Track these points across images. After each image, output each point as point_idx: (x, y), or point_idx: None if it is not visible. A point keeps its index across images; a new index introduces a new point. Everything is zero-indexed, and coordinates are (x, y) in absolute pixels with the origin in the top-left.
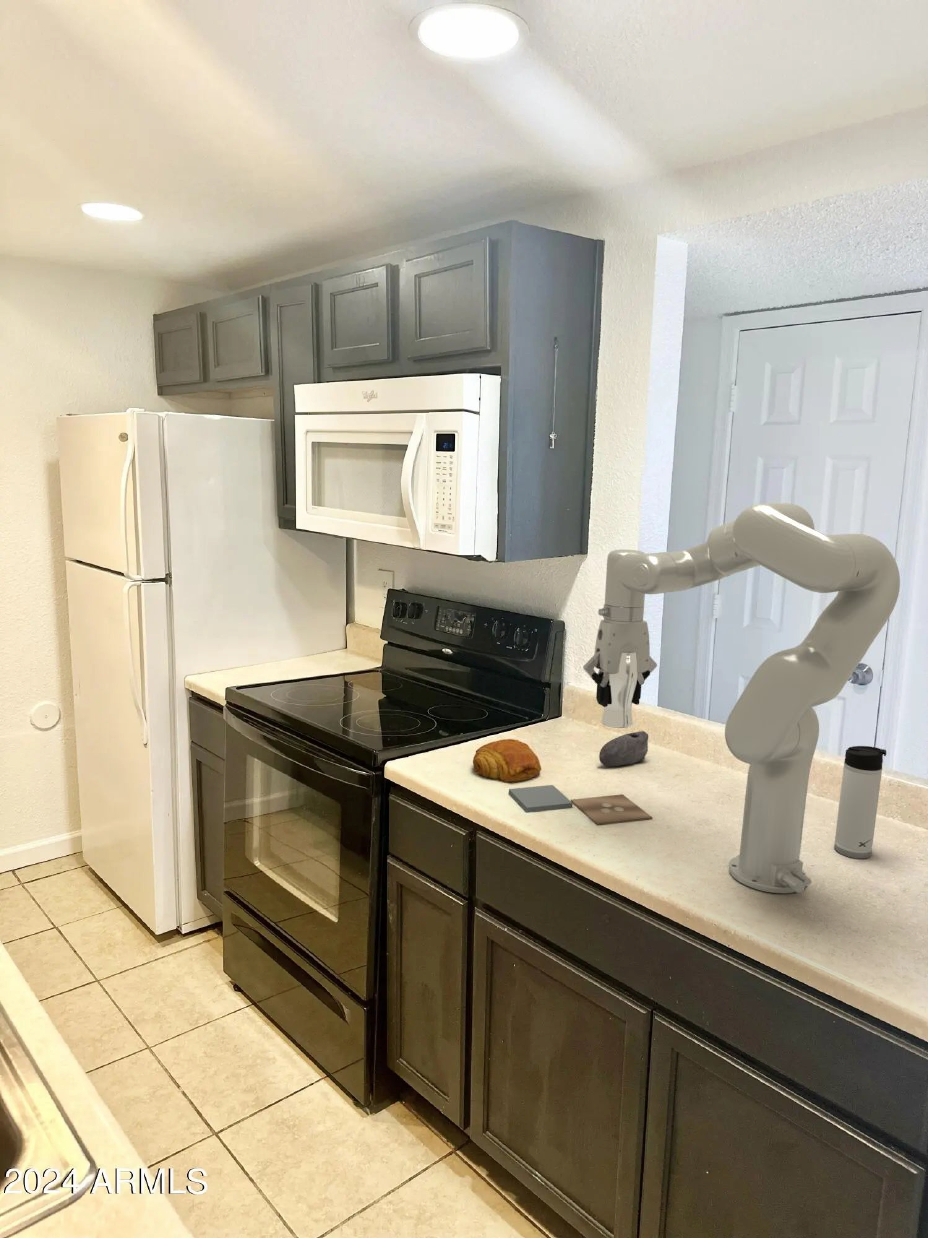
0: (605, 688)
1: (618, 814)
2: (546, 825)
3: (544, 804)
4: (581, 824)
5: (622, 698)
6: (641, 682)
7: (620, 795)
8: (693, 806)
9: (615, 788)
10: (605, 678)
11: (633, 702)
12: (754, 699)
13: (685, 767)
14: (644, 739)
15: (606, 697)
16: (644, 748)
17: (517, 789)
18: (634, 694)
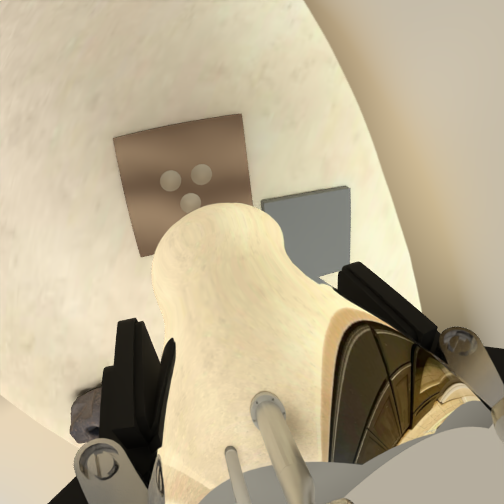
0: (429, 326)
1: (181, 153)
2: (331, 129)
3: (318, 199)
4: (269, 122)
5: (287, 277)
6: (100, 458)
7: (146, 251)
8: (16, 207)
9: (145, 293)
10: (482, 374)
11: (150, 343)
12: None
13: (16, 372)
14: (76, 423)
15: (385, 288)
16: (76, 410)
17: (338, 266)
18: (151, 379)
